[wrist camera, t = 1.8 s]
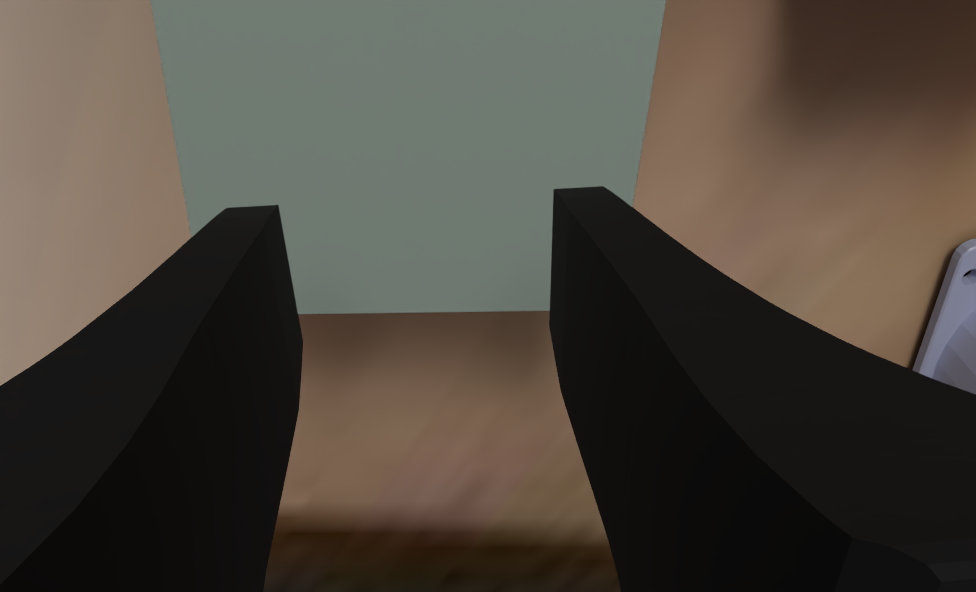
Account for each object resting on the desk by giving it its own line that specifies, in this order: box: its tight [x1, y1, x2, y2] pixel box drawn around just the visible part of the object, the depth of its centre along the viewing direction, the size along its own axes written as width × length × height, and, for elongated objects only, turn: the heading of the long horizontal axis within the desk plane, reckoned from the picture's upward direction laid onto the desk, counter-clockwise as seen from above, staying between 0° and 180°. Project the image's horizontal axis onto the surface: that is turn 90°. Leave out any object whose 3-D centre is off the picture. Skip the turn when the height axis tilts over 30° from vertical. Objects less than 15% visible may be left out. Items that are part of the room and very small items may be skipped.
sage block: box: [151, 0, 666, 314], centre depth 16 cm, size 8×8×5 cm
